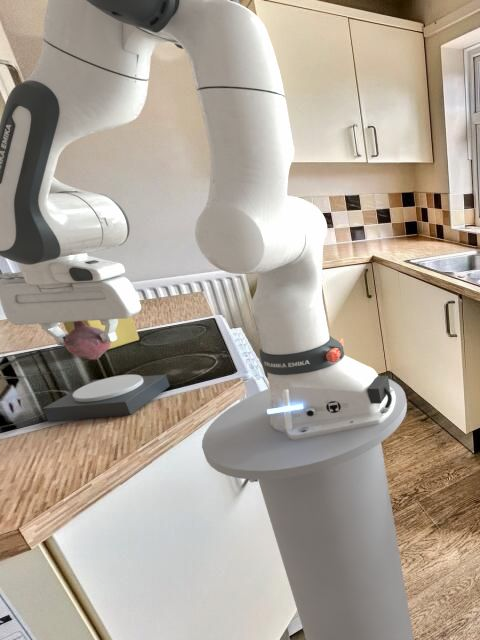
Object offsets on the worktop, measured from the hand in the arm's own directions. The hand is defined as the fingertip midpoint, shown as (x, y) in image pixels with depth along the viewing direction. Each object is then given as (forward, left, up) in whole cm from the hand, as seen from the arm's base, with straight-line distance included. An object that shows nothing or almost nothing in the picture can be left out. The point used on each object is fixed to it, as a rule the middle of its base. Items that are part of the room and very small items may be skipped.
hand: (88, 342), depth 80 cm
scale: (0, 0, -13) cm, 13 cm away
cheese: (+27, -38, -13) cm, 48 cm away
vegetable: (0, 0, -4) cm, 4 cm away
